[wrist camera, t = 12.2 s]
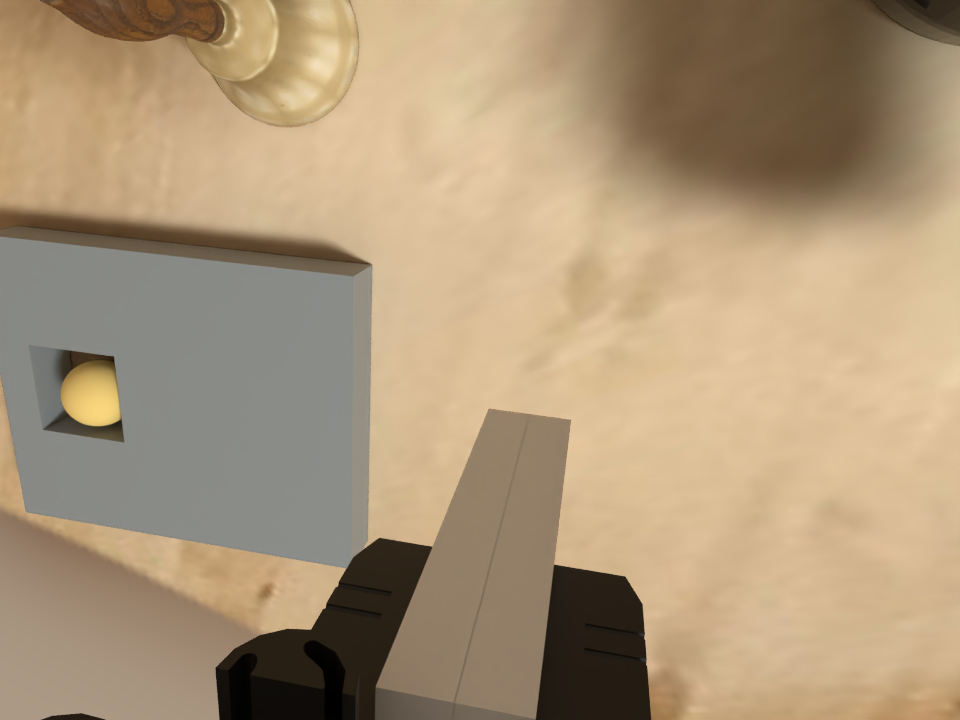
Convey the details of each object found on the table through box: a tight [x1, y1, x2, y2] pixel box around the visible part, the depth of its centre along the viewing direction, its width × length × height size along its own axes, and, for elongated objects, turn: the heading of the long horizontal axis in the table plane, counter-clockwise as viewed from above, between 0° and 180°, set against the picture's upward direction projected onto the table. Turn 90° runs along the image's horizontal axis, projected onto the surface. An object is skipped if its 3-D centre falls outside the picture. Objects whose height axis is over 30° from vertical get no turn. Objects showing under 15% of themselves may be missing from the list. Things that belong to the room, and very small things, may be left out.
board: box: [0, 226, 372, 568], centre depth 41 cm, size 18×22×3 cm
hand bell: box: [40, 0, 359, 127], centre depth 27 cm, size 8×8×16 cm
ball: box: [60, 360, 122, 426], centre depth 41 cm, size 4×4×4 cm
